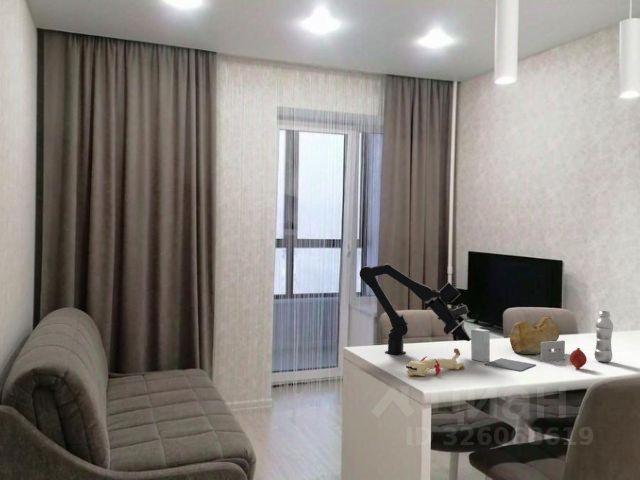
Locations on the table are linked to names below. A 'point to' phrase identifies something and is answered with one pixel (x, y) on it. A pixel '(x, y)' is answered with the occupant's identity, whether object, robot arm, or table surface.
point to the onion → (577, 358)
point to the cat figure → (433, 365)
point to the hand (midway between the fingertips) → (469, 340)
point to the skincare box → (480, 345)
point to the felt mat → (510, 364)
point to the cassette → (552, 355)
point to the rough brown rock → (533, 335)
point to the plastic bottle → (603, 337)
